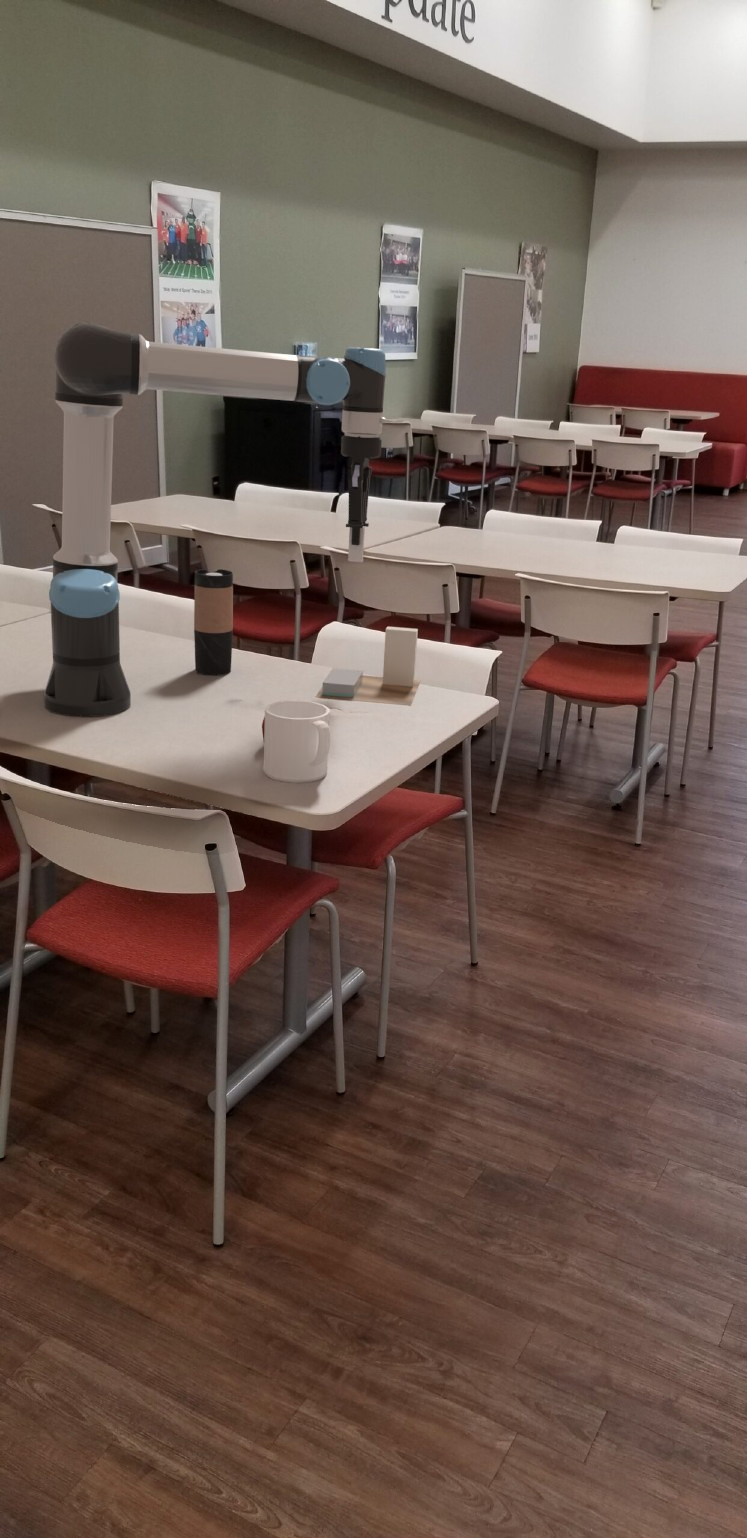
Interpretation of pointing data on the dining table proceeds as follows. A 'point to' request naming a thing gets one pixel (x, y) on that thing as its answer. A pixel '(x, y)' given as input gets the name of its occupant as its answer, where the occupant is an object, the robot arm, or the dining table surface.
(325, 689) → the tile teal
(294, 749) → the mug
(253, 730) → the dining table surface
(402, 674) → the tile plain
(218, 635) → the travel mug
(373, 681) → the board
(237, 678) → the dining table surface
